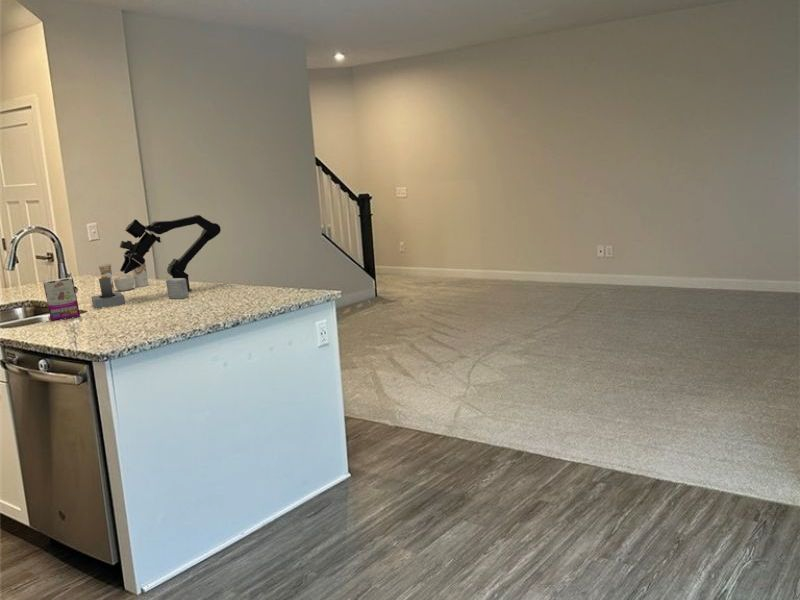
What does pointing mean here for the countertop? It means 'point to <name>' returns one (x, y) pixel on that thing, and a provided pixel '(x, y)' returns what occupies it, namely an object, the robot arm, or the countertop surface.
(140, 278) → the cosmetic set
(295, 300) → the countertop surface
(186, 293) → the medicine box
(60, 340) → the countertop surface
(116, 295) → the housing
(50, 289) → the candy bar box
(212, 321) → the countertop surface
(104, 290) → the grey upright block
